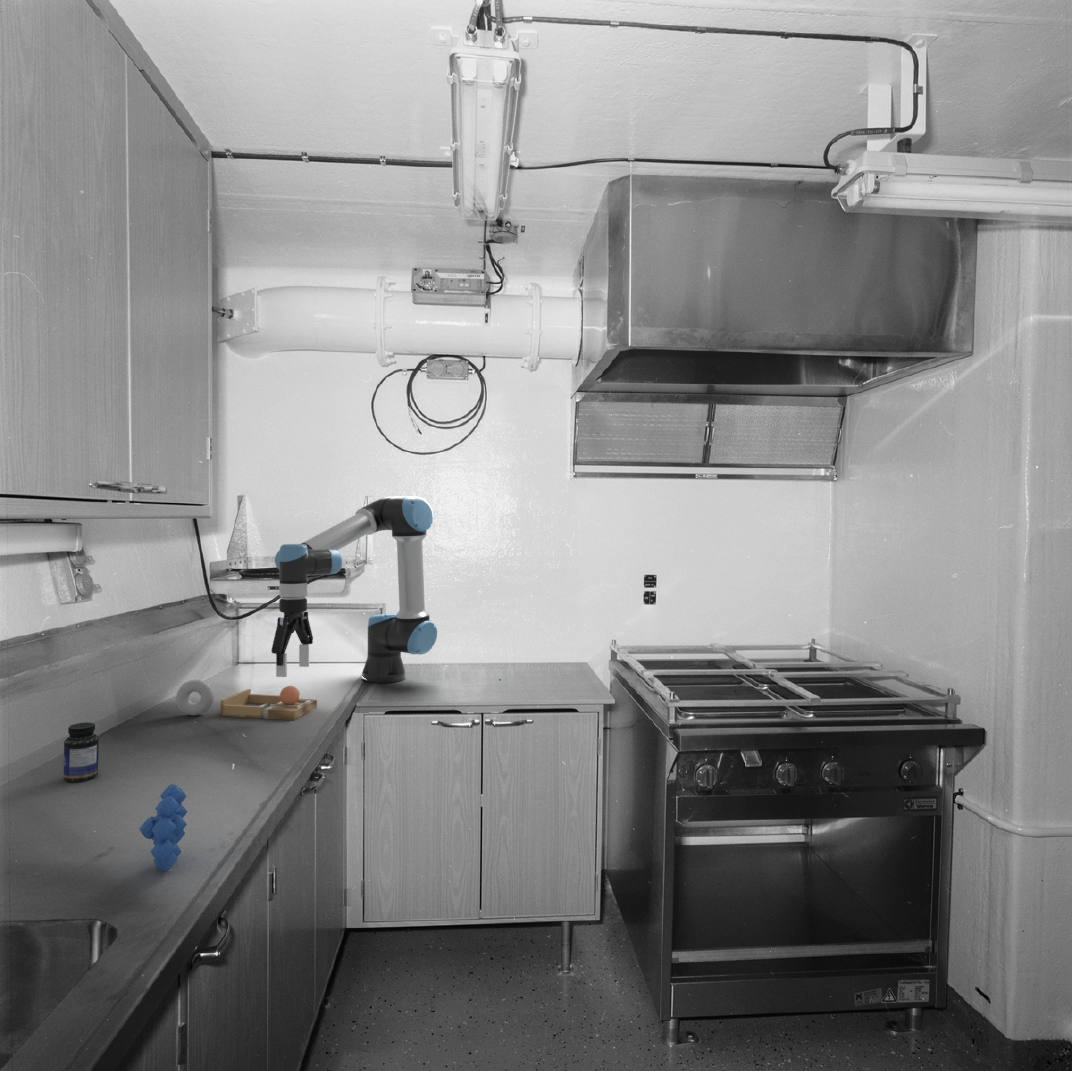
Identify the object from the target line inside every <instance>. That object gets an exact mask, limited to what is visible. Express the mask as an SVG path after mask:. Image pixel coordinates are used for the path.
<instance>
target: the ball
mask: <svg viewBox="0 0 1072 1071" xmlns="http://www.w3.org/2000/svg"><path fill="white" fill-rule="evenodd" d="M279 695H280V700H281V702H282V703H283V704H285V705H293V704H295V703H296V702H297V701H298V700H299V699H300V696H301V694H300V690H299V689H298V688H297V687H295V686H293V685H288V686H285V687H283V688H282V690H281V691H280V693H279Z"/></svg>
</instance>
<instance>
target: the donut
mask: <svg viewBox="0 0 1072 1071" xmlns="http://www.w3.org/2000/svg"><path fill="white" fill-rule="evenodd" d="M192 693H198V694H199V695H200V700H199V701H198V702H192V700H190V696H191V695H192ZM214 699H215V693H214V689H213V687H212V686H211V685H210V684H209V683H208V682H206V681H204V680H201V679H193V680H188V681H186V682H184V683H183V684H182V685H181V686H180V687H179V689H178V690H177V692H176V696H175V702H176V705H177V707H178V709H179V710H180V711H181V712H182V713H184V714H185V715H188V716H194V717H195V716H200V715H202V714H205V713H207V711H209V710H210V709H211V707H212V705H213V704H214V701H215V700H214Z"/></svg>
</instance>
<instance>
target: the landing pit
mask: <svg viewBox="0 0 1072 1071" xmlns="http://www.w3.org/2000/svg"><path fill="white" fill-rule="evenodd" d="M251 691H252V690H251V688H247V689H244V690H242V691H239V692H237V693H234V694H232V695H229V696H227V697H225V698H222V699H220V701H219V706H220V711H219V716H220V717H235V718H251V719H253V718H254V719H265V718H264V709H266V708H269V707H270V704H277V703H279V702H281V700H280V694H278V695H276V694H274V695H273V694H262V693H261V694H258V693H252V692H251Z"/></svg>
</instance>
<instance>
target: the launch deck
mask: <svg viewBox="0 0 1072 1071" xmlns="http://www.w3.org/2000/svg"><path fill="white" fill-rule="evenodd" d="M316 707H318V700H317V699H315V698H314V699H311V698H299V700H298V701H297V702H296V703H295V704H293V705H285V704H283V703H282V702H279V703H277V704H270V707H269V708H266V709H264V718H263V719H264V720H265V719H267V720H282V721H283V720H285V721H296V720H297V719H299V718H301V717H303V716H304V715H303V714H305V713H306V714H308V713H310V712H312V711H314V710H315V709H317V708H316ZM313 709H314V710H313ZM311 710H312V711H311ZM307 712H308V713H307ZM306 714H305V715H306ZM302 715H303V716H302ZM300 716H301V717H300ZM295 719H296V720H295Z"/></svg>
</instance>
